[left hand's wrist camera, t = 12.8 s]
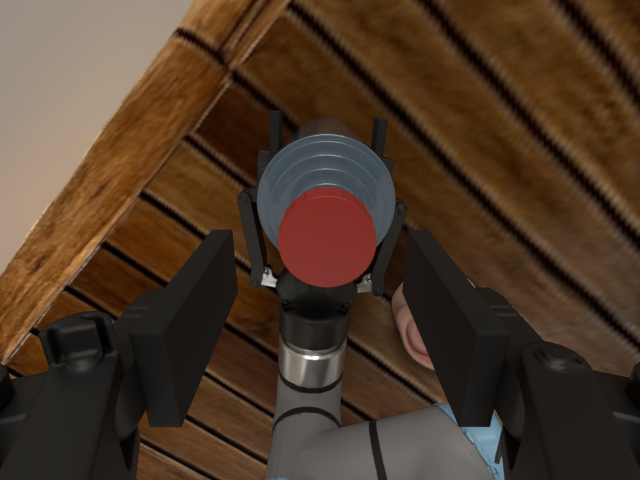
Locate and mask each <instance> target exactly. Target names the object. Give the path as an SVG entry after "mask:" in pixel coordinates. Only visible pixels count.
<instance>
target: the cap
mask: <svg viewBox="0 0 640 480" xmlns="http://www.w3.org/2000/svg"><path fill="white" fill-rule="evenodd" d="M373 223H374V222H373V220H372V217H371V215H370V213H368V211H367V209H366V207H365V204H364V203H362V202H361V201H360V200H359V199H358V198H357V197H356V196H355V194H354V195H353V194H351V193H349V192H347V191H345V190H344V189H343V188H342V189H339V188H334V187H331V186H329V187H320V188H318V187H316V188H315V189H312V190H309V191H307V192H306V191H304V193H303V194H301V195H300V196H299V197H297V198H296V199H295V198H294V200H293V202H292V203H291V205H290V206H289V207H288V208H286V211H285V214H284V218H283V219H282V220H281V223H280V226H279V229H280V231H279V235H278V248H279V253H280V256H281V259H282V261H283V263H284V264H285V266H286V267H287V269H288V270H289V271H290V272H291V273H292V274H293V275H294V276H295V277H297V278H298V279H300V280H301V281H303V282H305V283H307V284H310V285H313V286H317V287H336V286H341V285H344V284H347V283H349V282H351V281H353V280H354V279H356V278H358V277H359V276H360V275H361V274H362V273H363V272H364V271H365V270H366V269H367V268H368V266H369V265H370V263H371V261H372V259H373V257H374V254H375V250H376V231H375V229H374V226H373Z"/></svg>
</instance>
